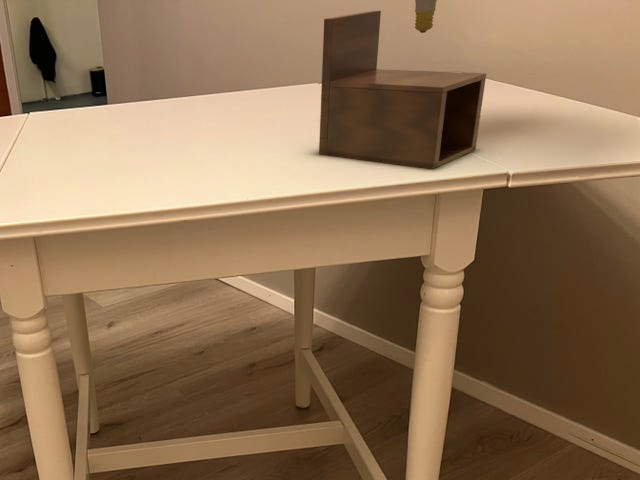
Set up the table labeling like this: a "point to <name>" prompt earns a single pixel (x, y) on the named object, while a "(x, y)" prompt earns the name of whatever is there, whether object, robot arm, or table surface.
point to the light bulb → (424, 14)
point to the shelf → (391, 102)
